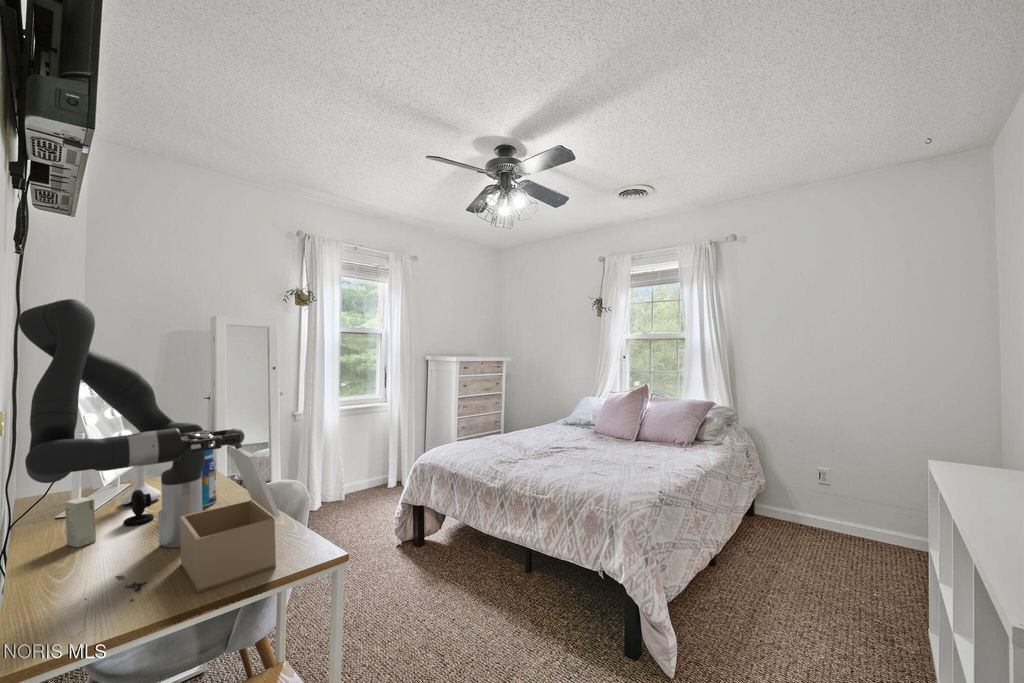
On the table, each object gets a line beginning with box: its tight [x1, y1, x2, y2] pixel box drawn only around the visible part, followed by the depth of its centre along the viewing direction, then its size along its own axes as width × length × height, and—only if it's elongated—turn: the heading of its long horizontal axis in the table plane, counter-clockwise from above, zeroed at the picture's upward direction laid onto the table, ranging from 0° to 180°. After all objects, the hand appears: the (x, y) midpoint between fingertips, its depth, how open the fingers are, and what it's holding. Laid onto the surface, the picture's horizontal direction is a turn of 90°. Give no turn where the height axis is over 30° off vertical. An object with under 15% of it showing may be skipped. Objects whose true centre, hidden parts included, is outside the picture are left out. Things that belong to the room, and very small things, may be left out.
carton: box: [180, 499, 277, 594], centre depth 114 cm, size 16×20×12 cm
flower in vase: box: [120, 465, 162, 505], centre depth 163 cm, size 13×11×25 cm
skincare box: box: [64, 497, 97, 548], centre depth 129 cm, size 6×4×12 cm
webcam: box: [122, 490, 155, 527], centre depth 144 cm, size 8×8×10 cm
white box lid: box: [225, 427, 281, 519], centre depth 118 cm, size 23×21×4 cm
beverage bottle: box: [201, 449, 218, 508], centre depth 159 cm, size 8×8×20 cm
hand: (234, 435), depth 116 cm, fingers open, 8 cm apart
